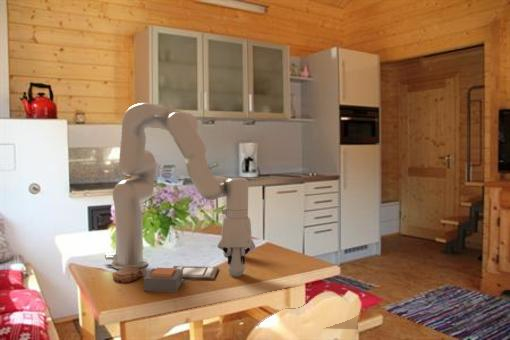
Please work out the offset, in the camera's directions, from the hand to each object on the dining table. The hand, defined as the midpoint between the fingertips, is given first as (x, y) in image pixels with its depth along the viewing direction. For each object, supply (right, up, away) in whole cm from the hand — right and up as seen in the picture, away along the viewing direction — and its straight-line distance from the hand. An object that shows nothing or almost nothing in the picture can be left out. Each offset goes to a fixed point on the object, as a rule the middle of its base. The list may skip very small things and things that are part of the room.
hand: (236, 265), depth 150 cm
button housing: (-22, -4, -12) cm, 26 cm away
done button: (-22, -2, -12) cm, 26 cm away
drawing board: (-15, -3, +1) cm, 15 cm away
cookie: (-36, -4, -4) cm, 37 cm away
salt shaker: (0, -3, 0) cm, 3 cm away
